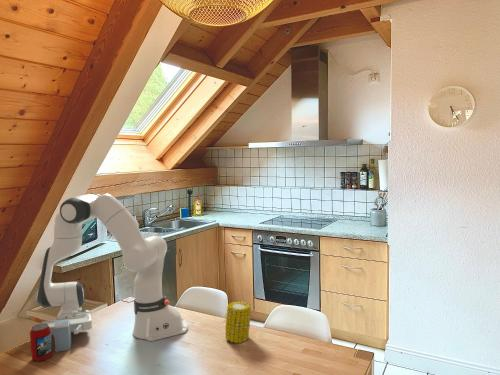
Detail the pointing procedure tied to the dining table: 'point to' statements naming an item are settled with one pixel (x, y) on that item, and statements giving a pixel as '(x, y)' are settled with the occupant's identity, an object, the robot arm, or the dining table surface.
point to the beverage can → (41, 342)
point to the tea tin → (62, 335)
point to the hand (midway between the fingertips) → (62, 334)
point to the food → (238, 321)
